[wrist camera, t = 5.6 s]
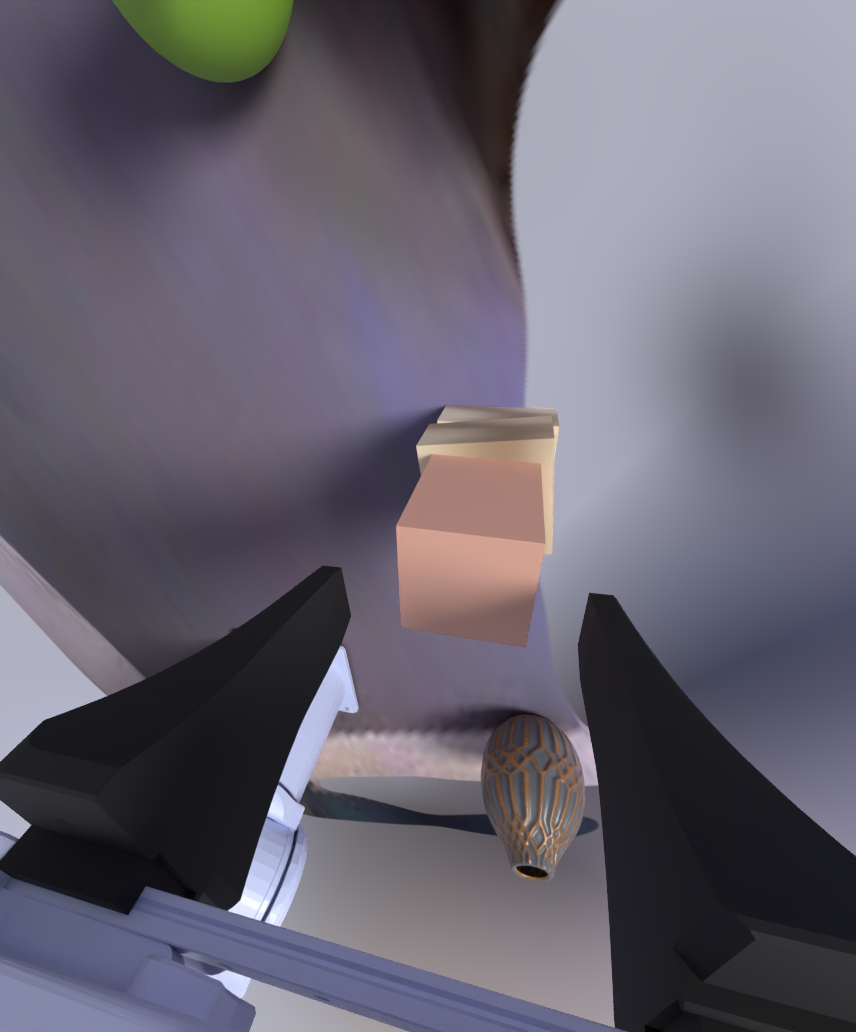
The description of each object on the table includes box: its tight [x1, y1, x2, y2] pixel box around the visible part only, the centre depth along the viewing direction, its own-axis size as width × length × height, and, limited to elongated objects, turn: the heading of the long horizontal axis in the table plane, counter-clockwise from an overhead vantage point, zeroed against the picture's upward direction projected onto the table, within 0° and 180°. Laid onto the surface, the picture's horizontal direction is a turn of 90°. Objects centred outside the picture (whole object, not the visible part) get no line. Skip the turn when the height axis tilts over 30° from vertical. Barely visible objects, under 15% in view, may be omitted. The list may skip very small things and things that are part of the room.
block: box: [396, 454, 546, 648], centre depth 14 cm, size 4×4×5 cm
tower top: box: [416, 416, 555, 554], centre depth 17 cm, size 5×5×2 cm
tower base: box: [437, 405, 559, 458], centre depth 19 cm, size 5×5×2 cm
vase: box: [481, 714, 585, 882], centre depth 27 cm, size 7×7×9 cm
